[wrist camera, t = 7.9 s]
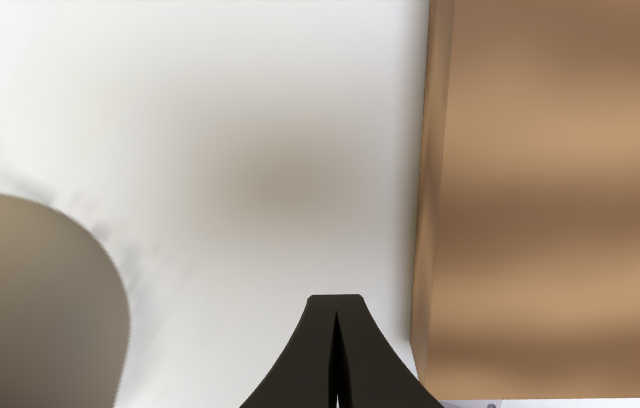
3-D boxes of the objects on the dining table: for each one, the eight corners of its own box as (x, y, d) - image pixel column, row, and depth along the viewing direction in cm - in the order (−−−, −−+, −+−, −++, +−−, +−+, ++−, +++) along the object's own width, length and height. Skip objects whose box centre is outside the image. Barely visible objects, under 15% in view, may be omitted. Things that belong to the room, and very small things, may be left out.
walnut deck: (641, 338, 26) (694, 397, 22) (409, 342, 26) (423, 400, 22) (753, -50, 19) (860, -60, 15) (432, -42, 19) (458, -49, 15)
